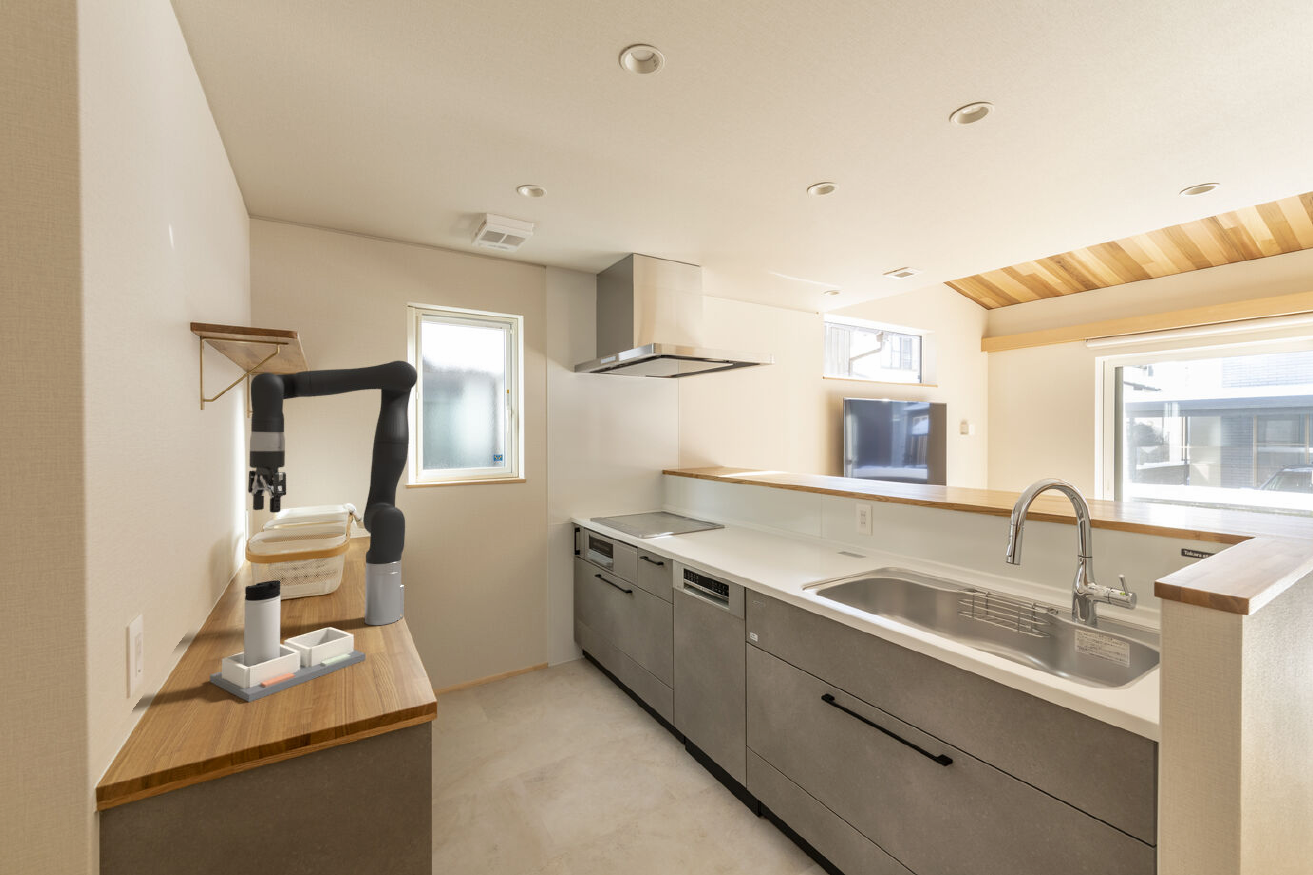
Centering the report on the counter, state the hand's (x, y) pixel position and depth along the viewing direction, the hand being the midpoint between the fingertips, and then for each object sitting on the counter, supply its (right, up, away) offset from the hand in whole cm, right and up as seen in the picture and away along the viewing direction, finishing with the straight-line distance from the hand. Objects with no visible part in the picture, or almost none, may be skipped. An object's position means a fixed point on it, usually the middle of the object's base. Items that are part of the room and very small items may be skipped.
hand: (266, 510), depth 141 cm
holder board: (+20, -33, -20) cm, 44 cm away
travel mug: (+17, -32, -25) cm, 44 cm away
